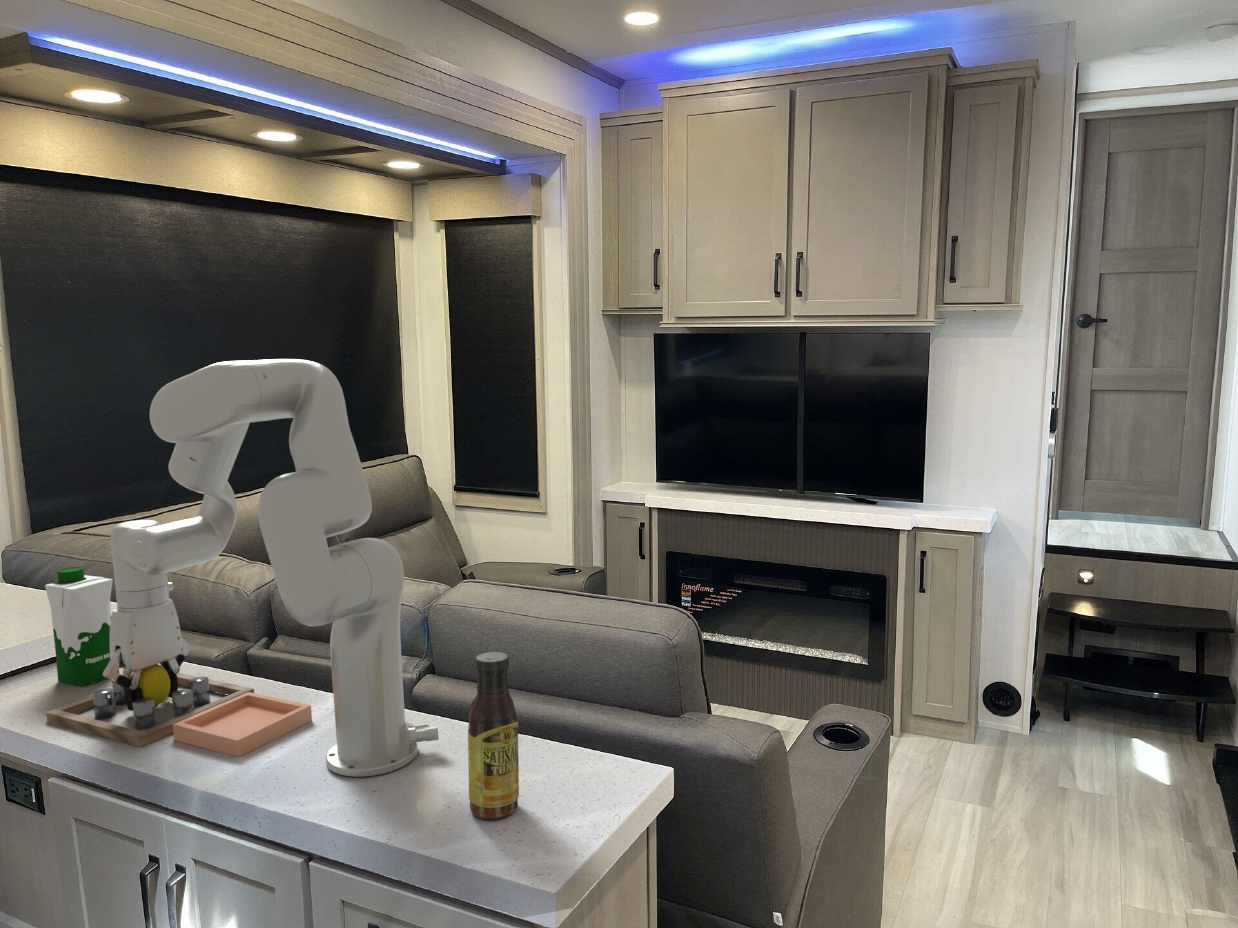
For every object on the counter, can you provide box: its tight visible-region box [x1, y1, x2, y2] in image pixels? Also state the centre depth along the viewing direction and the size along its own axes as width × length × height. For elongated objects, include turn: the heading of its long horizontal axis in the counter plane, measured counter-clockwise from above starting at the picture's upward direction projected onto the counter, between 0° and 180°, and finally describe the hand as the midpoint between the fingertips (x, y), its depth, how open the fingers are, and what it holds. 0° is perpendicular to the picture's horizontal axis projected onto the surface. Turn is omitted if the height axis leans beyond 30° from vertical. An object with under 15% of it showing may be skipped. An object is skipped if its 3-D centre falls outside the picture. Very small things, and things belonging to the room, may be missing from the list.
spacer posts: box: [92, 676, 211, 731], centre depth 148 cm, size 18×13×4 cm
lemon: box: [138, 664, 170, 710], centre depth 148 cm, size 6×6×8 cm
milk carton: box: [44, 566, 120, 687], centre depth 162 cm, size 9×9×20 cm
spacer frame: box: [45, 672, 255, 748], centre depth 148 cm, size 23×21×2 cm
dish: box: [172, 692, 313, 758], centre depth 139 cm, size 14×14×2 cm
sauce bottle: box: [467, 651, 520, 820], centre depth 112 cm, size 7×6×20 cm
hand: (153, 702), depth 148 cm, fingers closed on lemon, 5 cm apart
